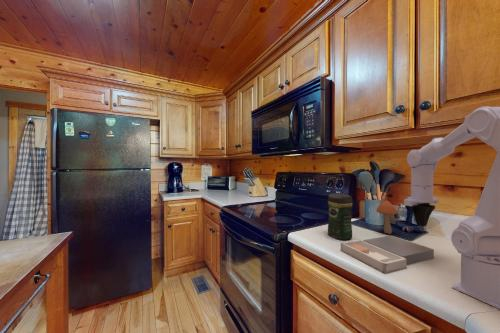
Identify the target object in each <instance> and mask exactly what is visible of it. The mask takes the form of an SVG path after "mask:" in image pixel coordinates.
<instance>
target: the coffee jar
mask: <svg viewBox="0 0 500 333" xmlns="http://www.w3.org/2000/svg"><path fill="white" fill-rule="evenodd" d="M327 204H328V219H327V220H328V221H327V222H328V223H327V234H328V235H329V237H330V236H331V237H332V238H335V239H337V240H345V241H347V240H349V241H350V240H351V239H352V238H353V226H352V225H353V224H352V207H353V197H352V196H351V195H348V194H345V193H338V192H337V193H334V192H332V193H329V194H328V197H327Z"/></svg>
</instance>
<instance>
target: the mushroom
mask: <svg viewBox="0 0 500 333" xmlns="http://www.w3.org/2000/svg"><path fill="white" fill-rule="evenodd" d="M376 212H377V213H379V214H381V215H383V220H384V221H383V222H384V224H383V232H384V234H386V233H388V234H387V235H391V234H393V233H392V232H393V230H392V225H391V222H390V215H397V214H398V210H397V208H396V207H395V206H394V205H393V204H392V203H391V202H390V201H388V200H384V201H382V202H381V203H380V204H379V205H378V206H377V208H376Z"/></svg>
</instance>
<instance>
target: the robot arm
mask: <svg viewBox="0 0 500 333" xmlns="http://www.w3.org/2000/svg"><path fill="white" fill-rule="evenodd" d="M474 138H477V139H478V140H480V141H482V142H483V143H485V144H486V145H488V146H489V147H492V148H493V150H495V151H496V156H495V159H494V161H493V164H492V165H491V168H490V172H489V174H488V177H487V179H486V183H485V185H484V187H483V189H482V193H481V195H480V197H479V200H478V203H477V206H476V208H475V210H474V213H473V215H471V216H470V217H467V218H465V219H463V220H460V222H459V224H458V225H457V227H456V228H455V229H454V230H453V231H452V233H451V236H450V239H451V242H452V245H453V247H454V248H455V250H456V251H457V253H458V254H460V282H458V283H455V284H452V286H451V287H452V288H453V289H455V290H456V291H459V292H461V293H463V294H465V295H468V296H470V297H471V298H475V300H479V301H480V302H484V303H486V304H487V305H490V306H492V307H494V308H497V309H499V310H500V106H480V107H478V108H476V109H474V110H473V111H472V112H471V113H469V114H467V115H466V116H465V117H464V122H463V123H461V124H460V125H459V126H458V127H456V128H455V129H454V130H453V131H451V132H449V134H447V135H446V136H444V137H434V138H432V139H431V141H430V142H429V143H427V144H426V145H423V146H422V147H421V148H419V149H411V150H410V151H409V152H408V154H407V156H406V162H407V165H408V166H409V167H410V196H407V198H405V199H404V200H403V205H404V206H407V207H408V208H410V210H411V212H412V214H413V216H414V220H415V223H416V225H417V226H419V227H423V228H424V227H427V225H428V222H429V220H430V216H431V214H432V213H433V212H434V210H435V209H436V204H439V197H434V173H435V172H436V169H437V165H438V164H439V161H440V160H442V159H444V158H446V157H448V156H450V155H452V154H453V153H454V152H455V148H456V147H458V146H460V145H462V144H464V143H466V142H468V141H471V140H473V139H474ZM433 204H435V205H433Z"/></svg>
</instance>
